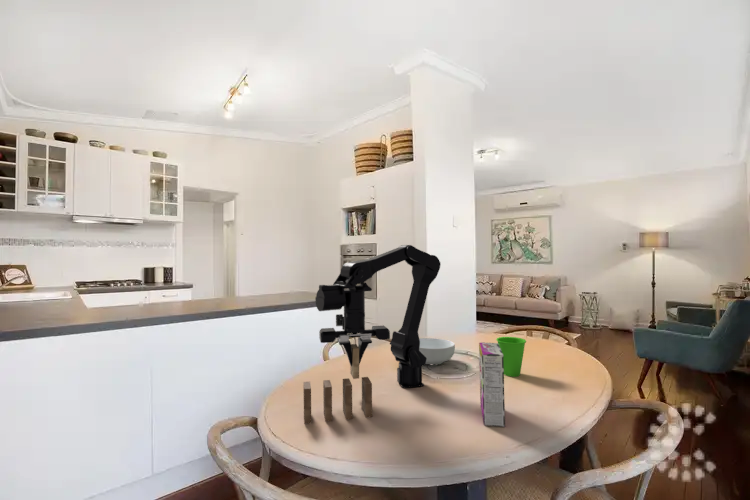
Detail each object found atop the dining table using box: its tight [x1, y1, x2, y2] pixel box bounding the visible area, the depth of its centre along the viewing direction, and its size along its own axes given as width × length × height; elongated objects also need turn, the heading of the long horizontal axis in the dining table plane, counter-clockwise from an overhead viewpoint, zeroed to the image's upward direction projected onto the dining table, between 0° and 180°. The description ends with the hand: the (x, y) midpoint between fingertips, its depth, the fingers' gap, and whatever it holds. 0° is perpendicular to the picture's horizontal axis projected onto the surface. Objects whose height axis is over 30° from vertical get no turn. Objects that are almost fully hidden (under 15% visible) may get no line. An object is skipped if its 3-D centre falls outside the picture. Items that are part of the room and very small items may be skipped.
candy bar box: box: [478, 341, 506, 428], centre depth 91 cm, size 11×5×16 cm, turn 168°
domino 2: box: [322, 379, 333, 422], centre depth 92 cm, size 2×5×8 cm, turn 12°
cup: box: [495, 336, 527, 378], centre depth 122 cm, size 9×9×11 cm
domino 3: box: [342, 378, 353, 420], centre depth 93 cm, size 2×5×8 cm, turn 12°
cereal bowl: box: [419, 337, 456, 365], centre depth 137 cm, size 17×17×7 cm
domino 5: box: [361, 376, 373, 418], centre depth 94 cm, size 2×5×8 cm, turn 12°
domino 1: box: [302, 381, 312, 425], centre depth 91 cm, size 2×5×8 cm, turn 12°
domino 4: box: [349, 343, 360, 380], centre depth 105 cm, size 2×5×8 cm, turn 12°
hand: (354, 365), depth 105 cm, fingers closed on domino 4, 2 cm apart
